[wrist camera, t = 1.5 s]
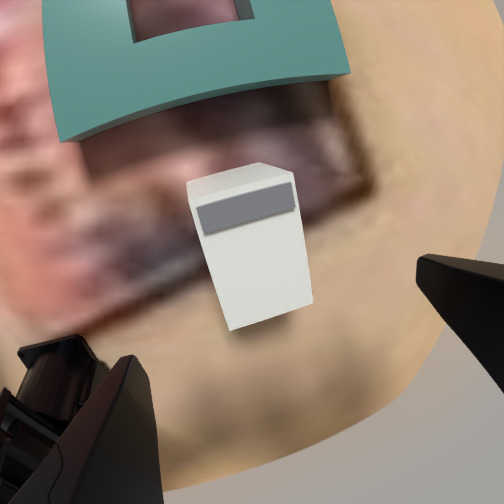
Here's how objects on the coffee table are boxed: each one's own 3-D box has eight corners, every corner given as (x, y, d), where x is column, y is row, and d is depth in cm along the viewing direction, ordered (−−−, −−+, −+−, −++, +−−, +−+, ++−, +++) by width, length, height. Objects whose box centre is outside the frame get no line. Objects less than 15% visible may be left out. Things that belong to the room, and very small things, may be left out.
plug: (215, 280, 17) (230, 333, 12) (186, 181, 15) (188, 201, 10) (279, 260, 18) (315, 305, 13) (259, 162, 15) (294, 173, 11)
